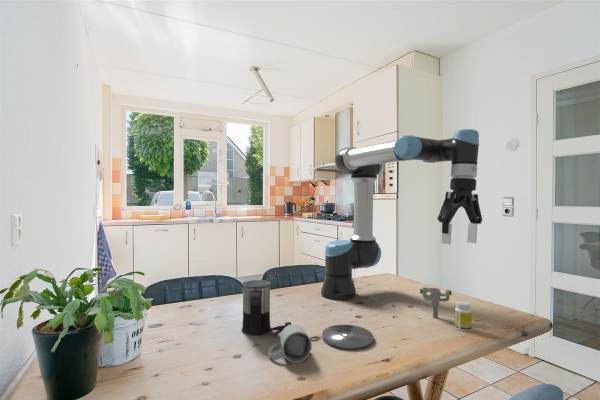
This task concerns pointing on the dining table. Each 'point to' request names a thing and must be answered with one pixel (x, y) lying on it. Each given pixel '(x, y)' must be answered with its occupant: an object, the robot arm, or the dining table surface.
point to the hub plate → (347, 337)
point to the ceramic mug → (292, 344)
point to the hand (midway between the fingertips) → (459, 243)
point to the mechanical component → (435, 298)
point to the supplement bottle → (463, 316)
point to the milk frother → (257, 308)
